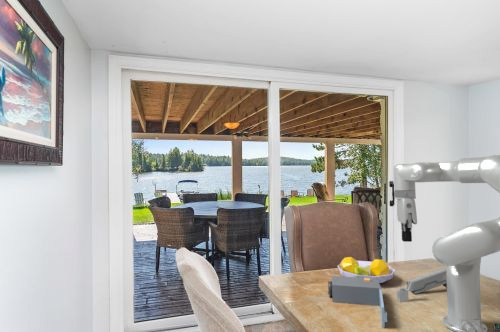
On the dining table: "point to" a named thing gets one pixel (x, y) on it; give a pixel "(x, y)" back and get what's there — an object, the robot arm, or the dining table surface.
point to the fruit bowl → (366, 269)
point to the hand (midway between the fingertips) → (406, 241)
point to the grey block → (354, 290)
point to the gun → (429, 281)
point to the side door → (382, 309)
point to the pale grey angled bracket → (404, 292)
